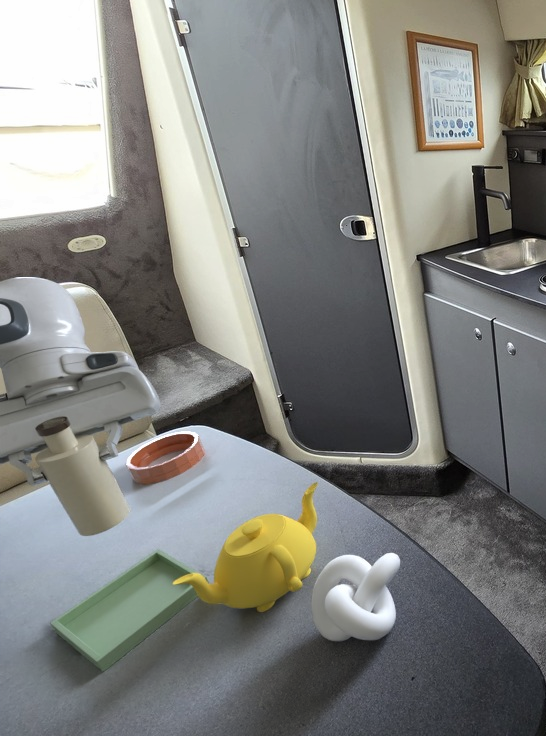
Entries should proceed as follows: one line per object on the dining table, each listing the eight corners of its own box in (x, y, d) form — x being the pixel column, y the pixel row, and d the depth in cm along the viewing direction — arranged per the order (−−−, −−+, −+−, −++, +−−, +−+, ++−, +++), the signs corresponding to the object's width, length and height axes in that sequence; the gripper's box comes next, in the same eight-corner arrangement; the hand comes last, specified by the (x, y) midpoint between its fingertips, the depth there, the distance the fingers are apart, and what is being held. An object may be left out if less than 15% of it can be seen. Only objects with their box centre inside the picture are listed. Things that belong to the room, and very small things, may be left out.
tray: (56, 632, 70) (49, 623, 69) (163, 557, 81) (158, 548, 80) (103, 672, 65) (96, 662, 64) (211, 586, 76) (206, 576, 75)
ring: (123, 480, 99) (113, 460, 97) (187, 445, 108) (179, 426, 107) (154, 496, 94) (144, 476, 92) (218, 458, 104) (211, 438, 102)
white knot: (420, 632, 68) (408, 586, 65) (323, 685, 62) (304, 638, 59) (402, 570, 77) (391, 528, 74) (316, 612, 71) (300, 568, 68)
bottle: (70, 529, 70) (12, 430, 64) (119, 500, 75) (69, 406, 68) (90, 541, 68) (31, 441, 61) (138, 511, 72) (89, 415, 66)
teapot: (234, 670, 64) (204, 609, 60) (178, 619, 71) (148, 562, 67) (365, 551, 81) (349, 497, 76) (310, 519, 87) (292, 468, 83)
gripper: (-74, 403, 62) (-56, 507, 59) (139, 348, 74) (164, 431, 71) (-45, 417, 67) (-27, 514, 64) (150, 363, 79) (174, 441, 76)
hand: (76, 469), depth 67 cm, fingers closed on bottle, 5 cm apart
